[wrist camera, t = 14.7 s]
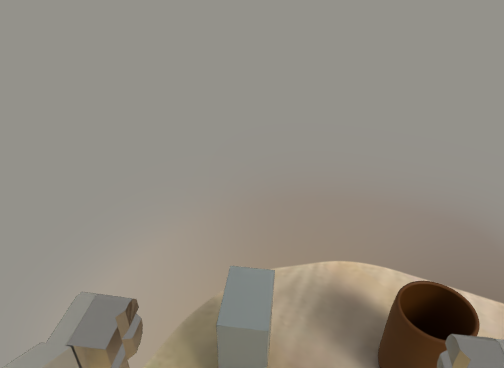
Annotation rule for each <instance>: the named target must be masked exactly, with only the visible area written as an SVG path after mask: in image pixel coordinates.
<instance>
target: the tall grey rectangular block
mask: <svg viewBox="0 0 504 368" xmlns="http://www.w3.org/2000/svg"><path fill="white" fill-rule="evenodd" d="M274 276H275V270H267V269H257V268H247V267H238V266H230V269H229V274H228V278H227V282H226V287H225V291H224V295H223V299H222V303H221V308H220V312H219V316H218V320H217V325H216V327H217V348H218V368H267V366H268V356H269V346H270V333H271V319H272V304H273V290H274Z"/></svg>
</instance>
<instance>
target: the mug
mask: <svg viewBox="0 0 504 368" xmlns="http://www.w3.org/2000/svg"><path fill="white" fill-rule="evenodd" d="M478 331H479V319H478V315H477V313H476V311H475V309H474V308H473V306H472V305H471V304H470V303H469V301H468V300H467V299H466V298H464V297H463V296H462V295H461V294H459V293H458V292H456V291H455V290H453V289H451V288H449V287H447V286H445V285H442V284H439V283H435V282H430V281H415V282H411V283H409V284H407V285H405V286H403V287H402V288H401V289H400V290H399V292H398V294H397V296H396V298H395V300H394V303H393V305H392V307H391V310H390V313H389V317H388V320H387V323H386V326H385V330H384V333H383V337H382V340H381V343H380V347H379V352H378V360H379V365H380V368H437V361H438V359H439V356H440V354H441V353H442V352H444V351H446V350H447V348H446V344H445V342H446V340H447V337H448V336H449V335H451V334H457V335H467V336H477V334H478Z"/></svg>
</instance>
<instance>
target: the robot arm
mask: <svg viewBox="0 0 504 368" xmlns="http://www.w3.org/2000/svg"><path fill="white" fill-rule="evenodd" d="M138 308H139V307H138V303H137V300H136V299H131V298H124V297H117V296H110V295H103V294H95V293H87V292H81V293H80V294H79V295H78V296H76V298H75V299H74V301H73V302H72V304H71V305H70V307H69V308H68V310H67V311H66V313H65V315H64V316H63V318H62V319H61V321H60V322H59V324H58V325H57V327H56V328H55V330H54V331H53V333H52V334H51V336H50V338H49V339H48V341H47V342H46V343H39V344H38V345H36V346H35V347H33V348H32V349H30V350H28V351H27V352H25V353H24V354H22V355H21V356H19V357H18V358H16V359H15V360H13V361H12V362H10V363H9V364H7V365H6V366H4V367H3V368H129V364H128V359H129V358H130V357H132V356H133V355H134V354H135V353H136V352H137V350H138V347H139V345H140V341H141V337H142V326H143V325H142V319H141V318H140V317H139V316H138V315H137V314H136V312H137V310H138ZM445 344H446V348H447V350H446V351H444V352H442V353H441V354H440V356H439V359H438V361H437V368H504V340H501V339H493V338H487V337H477V336H467V335H457V334H451V335H449V336H448V337H447V340H446V342H445Z"/></svg>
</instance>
